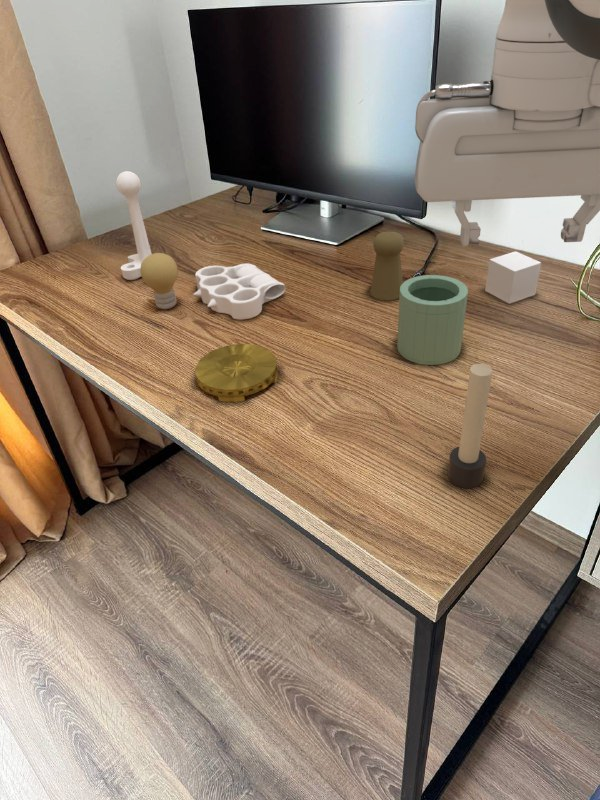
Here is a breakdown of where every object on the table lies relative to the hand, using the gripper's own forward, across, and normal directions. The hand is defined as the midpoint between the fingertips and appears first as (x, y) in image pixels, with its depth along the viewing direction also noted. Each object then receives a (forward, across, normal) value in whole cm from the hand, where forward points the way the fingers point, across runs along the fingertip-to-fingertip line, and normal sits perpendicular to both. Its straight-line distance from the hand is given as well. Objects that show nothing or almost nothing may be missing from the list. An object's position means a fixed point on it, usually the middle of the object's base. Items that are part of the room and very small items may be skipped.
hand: (519, 242), depth 56 cm
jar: (+27, -4, +24) cm, 36 cm away
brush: (+27, -3, -4) cm, 27 cm away
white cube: (+27, +13, +41) cm, 51 cm away
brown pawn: (+27, -9, +43) cm, 51 cm away
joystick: (+27, -58, +55) cm, 84 cm away
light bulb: (+27, -49, +41) cm, 69 cm away
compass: (+27, -33, +17) cm, 45 cm away
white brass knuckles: (+27, -36, +43) cm, 63 cm away
